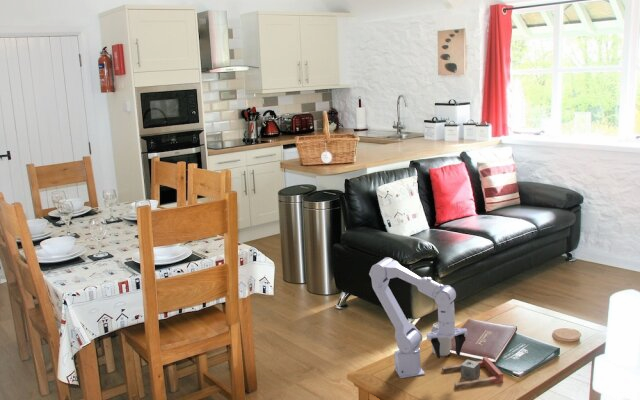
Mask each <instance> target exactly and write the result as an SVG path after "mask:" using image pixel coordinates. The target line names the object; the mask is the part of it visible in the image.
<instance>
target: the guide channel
mask: <svg viewBox="0 0 640 400" xmlns="http://www.w3.org/2000/svg"><path fill="white" fill-rule="evenodd" d="M476 362H479V363H480V368H483V367H482V366H484V368H485V367H486V368H487V369H488V370H487V369H486V370H487V371H488V372H489V373H490V374H491V375H492V376H490V377H486V378H479V379H475V380H467V381H466V380H464V381H460V382H459V381H458V382H454V388H455V390H459V389H465V388H472V387H478V386H485V385H491V384H497V383H503V382H504V373H503V372H501V371H502V370H500V369H499V368H498V367H497V365H495V364H494V363H493V362H492V361H491V360H490V359H489V358H488V357H487V356H483V357H482V360H477V361H476ZM461 364H462V363H459V364H455V365H454V364H452V365H448V366H443V367H441V371H442V372H443V373H451V372H457V371H461Z"/></svg>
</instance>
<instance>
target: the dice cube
mask: <svg viewBox="0 0 640 400" xmlns="http://www.w3.org/2000/svg"><path fill="white" fill-rule="evenodd" d="M460 364H461V370H460V377H461V378H462V379H464V380H468V381H471V380H477V377H478V378H479V377H480V376H481V367H480V363H479V362H477V361H475V360H471V359H466V360H465V361H464V362H462V363H460Z"/></svg>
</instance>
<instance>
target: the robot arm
mask: <svg viewBox="0 0 640 400" xmlns="http://www.w3.org/2000/svg"><path fill="white" fill-rule="evenodd" d="M368 275H369V277H370V278H371V287H372V289H373V291H374V293H375V295H376V296H377V298H378V301H379V302H380V303H381V306H382V307H383V309H384V312H386V314H387V316H388V318H389V320H390V322H391V324H392V326H393V327H394V329H395V331H394V338H395V341H396V346H397V348H398V350H396V351H394V353H393V354H394V370H395V372H396V373H397V375H398V377H399V378H400V379H403V378H411V377H418V376H422V375H423V376H424V375H426V373H425V371H424V370H423V369H422V365H421V346H420V345H421V343H422V341H423V334H422V332H421V331H420V330H418V328H417V327H416V325H415V324H414V323H412V322H409V321H408V319H407V318H406V315H405V314H404V312H403V310H402V308H401V306H400V304H399V303H398V301H397V299H396V298H395V296H394V294H393V292H392V290H391V289H390V287H389V282H390V281H391V280H390V279H395V278H399V279H401V280H403V281H405V282H406V283H409V284H411V285H413V286H415V287H416V288H417V291H418V292H420V293H422V294H424V295H426V296H427V297H428V298H431V299H433V300H434V302H435V303H436V305H437V315H438V316H437V317H438V321H437V322H438V323H439V330H438V331H435V332H432V333H431V332H429V333H426V339H427V341H429V342H430V343H431V346H432V345H433V347H434V350H435V353H436V355H435V357H436V358H437V359H441V356H440V342H439V340H438V339H439V338H451V339H454V342H455V354H456V355H457V356H460V355H461V351H462V348H463V345H464V343H466V342H465V341H466V339H467V338H466V336H468V329H467V328H466V327H465V328H464V327H463V328H461V327H460V328H459V327H457V328H456V319H455V318H456V317H455V315H456V314H455V302H454V300H455V299H456V297H457V292H456V290H455V288H454V287H452V286H451V285H450V284H449V285H446V284H445V285H444V284H442V283H439V282H437V281H435V280H433V278H432V277H431V276H428V277H427V276H423V277H421V276H419V275H417V274H416V273H414V272H412V271H411V270H410V269H408V268H406V267H404V266H402V265H401V264H400V262H399V261H397V260H395V259H393V258H391V257H387V256H386V257H384V258H383V259H381V260H380V261H378V262H377V263H375V264H373V265H372V266H371V268H370V270H369V273H368Z"/></svg>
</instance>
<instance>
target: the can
mask: <svg viewBox="0 0 640 400" xmlns="http://www.w3.org/2000/svg"><path fill="white" fill-rule="evenodd" d="M430 330H431V332H430V333H432V332H435V331H438V330H439V323H438V321H437V322H435V323H433V324H432V327H431V328H430ZM438 340H439V342H440V357H445V356H446V357H447V356H448V355H450V354H451V353H450V349H452V338H439V339H438ZM431 347H432V348H431V349H432V353H433V354H434V355H435V356H436V353H435V350H434V347H433V345H432V344H431Z"/></svg>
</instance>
